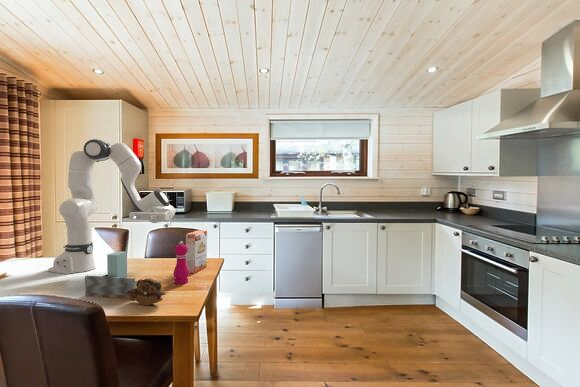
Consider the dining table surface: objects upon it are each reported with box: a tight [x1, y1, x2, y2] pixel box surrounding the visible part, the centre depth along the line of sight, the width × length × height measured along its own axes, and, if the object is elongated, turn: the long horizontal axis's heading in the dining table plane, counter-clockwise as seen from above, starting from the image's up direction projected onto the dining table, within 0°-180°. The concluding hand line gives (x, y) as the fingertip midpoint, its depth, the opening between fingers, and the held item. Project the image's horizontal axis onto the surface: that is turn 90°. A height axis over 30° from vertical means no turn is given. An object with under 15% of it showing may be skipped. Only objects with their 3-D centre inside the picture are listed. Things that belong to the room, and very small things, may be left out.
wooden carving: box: [127, 277, 167, 306], centre depth 130 cm, size 16×5×10 cm, turn 80°
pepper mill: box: [173, 240, 190, 285], centre depth 157 cm, size 7×7×20 cm
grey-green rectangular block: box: [106, 250, 128, 278], centre depth 142 cm, size 4×6×16 cm
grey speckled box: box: [84, 273, 138, 300], centre depth 145 cm, size 22×18×8 cm
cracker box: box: [185, 229, 208, 274], centre depth 179 cm, size 14×6×21 cm, turn 168°
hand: (140, 217), depth 165 cm, fingers open, 8 cm apart
